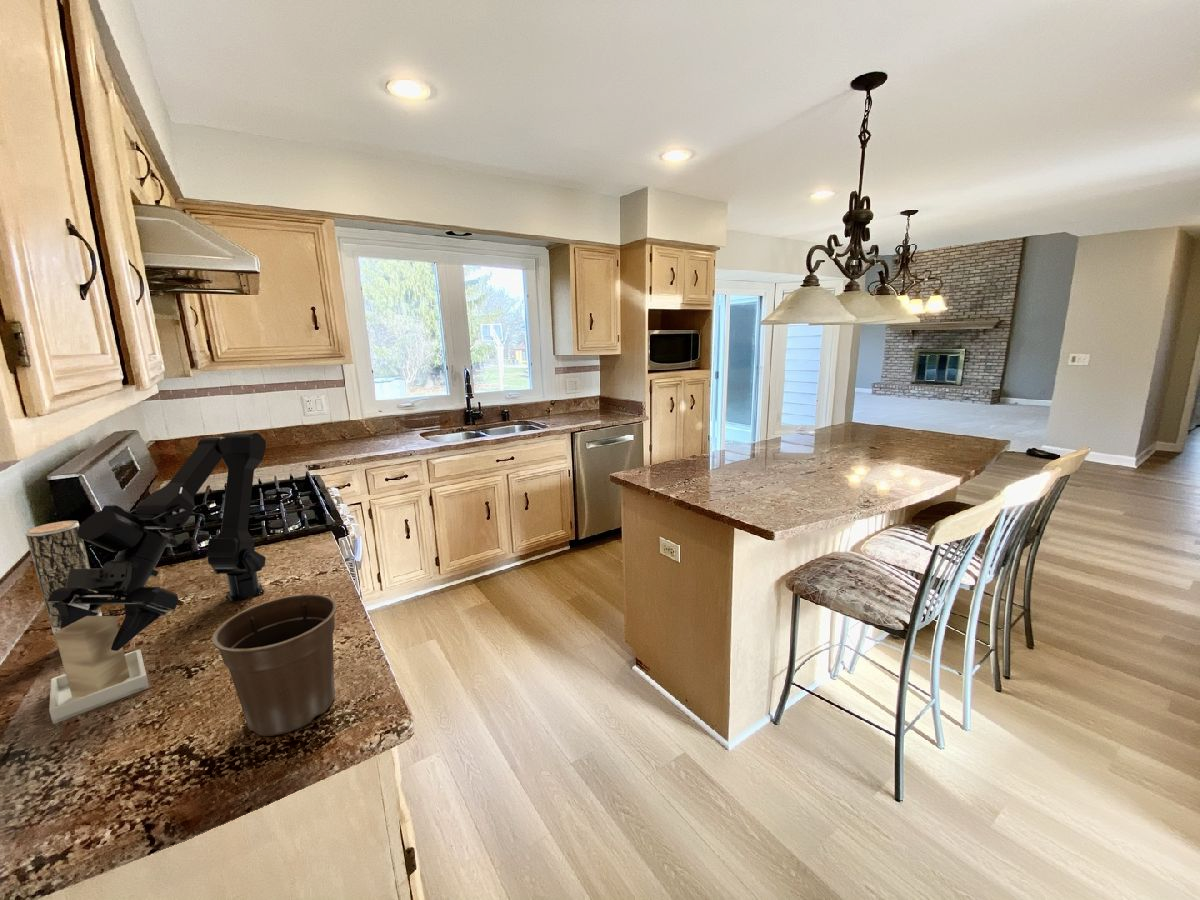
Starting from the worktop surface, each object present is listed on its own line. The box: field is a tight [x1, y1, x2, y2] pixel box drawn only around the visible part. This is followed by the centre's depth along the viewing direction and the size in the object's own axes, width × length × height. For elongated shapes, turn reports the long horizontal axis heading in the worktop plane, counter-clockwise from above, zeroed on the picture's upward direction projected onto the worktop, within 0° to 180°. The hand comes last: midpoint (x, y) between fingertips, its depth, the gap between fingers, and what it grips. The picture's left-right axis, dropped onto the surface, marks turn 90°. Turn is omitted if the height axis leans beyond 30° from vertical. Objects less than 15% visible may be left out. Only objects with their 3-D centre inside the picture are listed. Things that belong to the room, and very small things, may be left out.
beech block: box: [54, 615, 130, 697], centre depth 82 cm, size 5×5×12 cm
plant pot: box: [211, 593, 338, 737], centre depth 77 cm, size 16×16×16 cm
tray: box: [48, 648, 150, 725], centre depth 83 cm, size 11×11×2 cm
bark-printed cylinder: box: [25, 520, 103, 652], centre depth 94 cm, size 7×7×25 cm
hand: (87, 650), depth 81 cm, fingers open, 9 cm apart
